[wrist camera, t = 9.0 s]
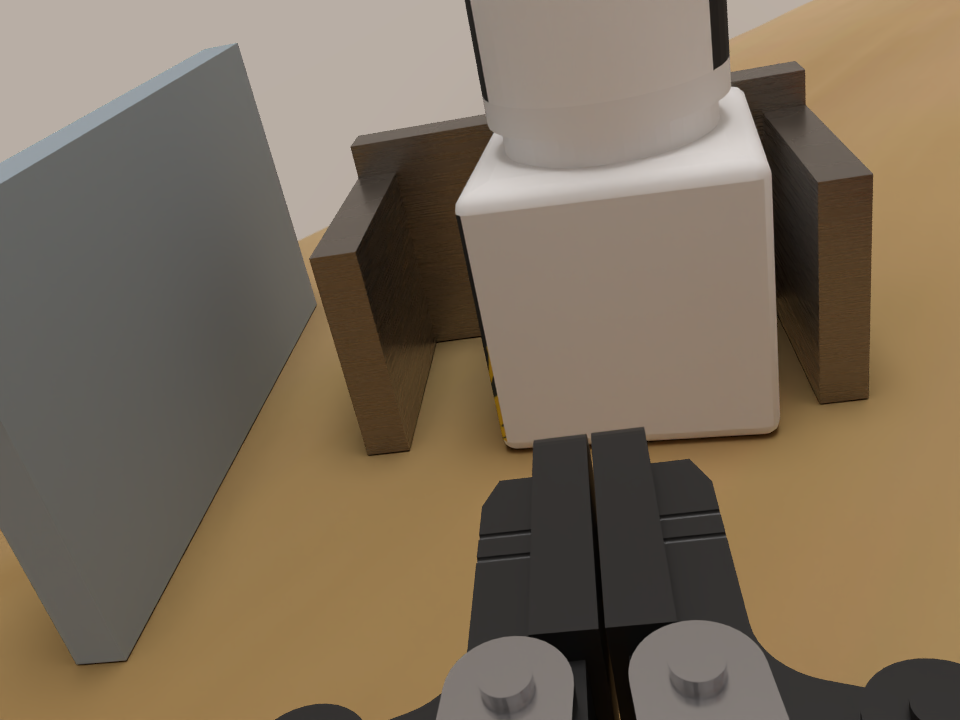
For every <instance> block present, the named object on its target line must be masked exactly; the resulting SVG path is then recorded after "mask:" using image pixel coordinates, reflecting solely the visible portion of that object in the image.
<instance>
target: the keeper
mask: <svg viewBox="0 0 960 720" xmlns="http://www.w3.org/2000/svg"><path fill="white" fill-rule="evenodd" d="M730 73H731V87H737V88H739V89H740V90H742V91H743V92H744V94H745V97H746V100H747V103H748V106H749V109H750V112H751V115H752V118H753V120H754V123H755V126H756V129H757V132H758V135H759V138H760V141H761V144H762V146H763V149H764V152H765V155H766V158H767V161H768V164H769V167H770V170H771V173H772V200H773V228H774V257H775V286H776V312H777V314H778V316H779V318H780V320H781V322H782V325H783V327H784V329H785V331H786V333H787V335H788V337H789V339H790V341H791V344H792V346H793V348H794V350H795V352H796V354H797V356H798V358H799V360H800V363H801V365H802V367H803V369H804V371H805V373H806V375H807V377H808V379H809V381H810V384H811V386H812V388H813V390H814V392H815V394H816V396H817V398H818V400H819V403H820V404H821V403H829V402H838V401H847V400H856V399H865V398H868V396H869V347H870V298H871V249H872V200H873V173H872V172H871V171H870V170H869V169H868V168H867V167H866V166H865V165H864V164H863V163H862V162H861V161H860V160H859V159H858V158H857V157H856V156H855V155H854V154H853V153H852V152H851V151H850V150H849V149H848V148H847V147H846V146H845V145H844V144H843V143H842V142H841V141H840V140H839V139H838V138H837V137H836V136H835V135H834V134H833V133H832V132H831V131H830V130H829V128H828V127H827V126H826V125H825V124H824V123H823V122H822V121H821V120H820V119H819V118H818V117H817V116H816V115H815V114H814V113H813V112H812V111H811V110H810V109H809V108H808V107H807V106H806V103H805V69H804V68H802V67H801V66H800V65H799V64H798V63H797V62H796V61H793V62H788V63H782V64H776V65H770V66H764V67H758V68H753V69H747V70H741V71H735V72H730ZM493 133H494V132H492V131H491V130H490V129H489V127H488V124H487V118H486V114H484V115H478V116H472V117H466V118H461V119H455V120H449V121H443V122H437V123H431V124H425V125H420V126H414V127H408V128H402V129H396V130H390V131H385V132H379V133H373V134H368V135H361V136H358V137H357V138H356V140H355V141H354V143H353V144H352V146H351V150H352V154H353V158H354V162H355V166H356V170H357V173H358V180H357V182H356V184H355V185H354V187H353V188H352V190H351V192H350V193H349V195H348V196H347V198H346V200H345V201H344V203H343V204H342V206H341V208H340V209H339V211H338V213H337V214H336V216H335V218H334V219H333V221H332V222H331V224H330V226H329V227H328V229H327V231H326V232H325V234H324V235H323V237H322V239H321V240H320V242H319V244H318V245H317V247H316V249H315V250H314V252H313V253H312V255H311V257H310V258H309V260H310V263H311V267H312V270H313V273H314V277H315V280H316V283H317V287H318V290H319V293H320V297H321V300H322V303H323V307H324V310H325V313H326V317H327V320H328V323H329V327H330V330H331V333H332V337H333V340H334V343H335V347H336V350H337V353H338V357H339V360H340V363H341V367H342V370H343V373H344V377H345V380H346V383H347V387H348V390H349V393H350V397H351V400H352V403H353V407H354V410H355V413H356V417H357V420H358V424H359V427H360V430H361V434H362V437H363V440H364V444H365V447H366V450H367V454H368V455H371V454H380V453H389V452H398V451H407V450H410V446H411V441H412V437H413V433H414V429H415V425H416V421H417V417H418V413H419V409H420V405H421V401H422V397H423V393H424V389H425V385H426V381H427V377H428V373H429V369H430V365H431V361H432V357H433V353H434V349H435V345H436V342H438V341H445V340H453V339H461V338H468V337H476V336H481V333H480V328H479V323H478V318H477V314H476V309H475V304H474V299H473V295H472V290H471V285H470V280H469V276H468V271H467V266H466V261H465V257H464V252H463V247H462V242H461V238H460V233H459V228H458V224H457V219H456V214H455V205H456V202H457V201H458V199H459V197H460V195H461V193H462V191H463V189H464V187H465V186H466V184H467V182H468V180H469V178H470V176H471V174H472V172H473V171H474V169H475V167H476V165H477V163H478V161H479V159H480V157H481V156H482V154H483V152H484V150H485V148H486V146H487V144H488V142H489V141H490V139H491V137H492V135H493Z"/></svg>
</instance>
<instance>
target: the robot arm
mask: <svg viewBox="0 0 960 720" xmlns="http://www.w3.org/2000/svg"><path fill="white" fill-rule="evenodd" d="M591 444H592V457H593V467H592V461H591V455H590V449H589V443H588V438H587V434H580V435H572V436H563V437H555V438H547V439H538V440H534V442H533V468H532V477H530V478H521V479H512V480H504V481H499V483H498V484H497V486H496V487H495V489H494V490H493V492H492V493H491V494H490V496H489V497H488V499H487V500H486V502H485V503H484V505H483V506H482V513H481V523H480V532H479V536H480V540H479V542H478V552H477V562H478V563H476V572H475V581H474V591H473V601H472V611H471V621H470V631H469V640H468V649H467V653H466V654H465V655H463V656H462V657H461V658H460V659H459V660H458V661H457V662H456V663H455V665H454V666H453V667H452V669H451V670H450V672H449V674H448V676H447V677H446V680H445V683H444V686H443V690H442V693H441V694H440V695H439V696H437V697H436V698H435V699H433V700H432V701H431V702H429V703H427V704H425V705H424V706H422V707H420V708H418V709H416V710H414V711H411V712H409V713H406V714H404V715H401V716H398V717H396V718H393V719H390V720H620V719H621V720H960V664H959V663H955V662H951V661H947V660H940V659H911V660H905V661H901V662H897V663H894V664H892V665H890V666H887V667H885V668H883V669H882V670H881V671H879V672H878V673H876V674H875V675H874V676H873V677H872V678H871V679H870V680H869V682H868V683H867V685H866V687H860V686H854V685H849V684H843V683H838V682H833V681H827V680H823V679H819V678H814V677H811V676H808V675H805V674H802V673H800V672H797V671H795V670H793V669H791V668H789V667H787V666H785V665H784V664H782V663H781V662H779V661H778V660H776V659H775V658H774V657H772V656H771V655H770V654H769V653H768V652H767V651H766V650H765V649H764V648H763V647H762V646H761V644H760V643H759V642H758V641H757V639H756V637H755V636H754V634H753V632H752V629H751V626H750V624H749V620H748V616H747V612H746V609H745V605H744V601H743V597H742V593H741V590H740V586H739V582H738V578H737V575H736V571H735V567H734V563H733V559H732V556H731V552H730V548H729V544H728V540H727V538H726V534H725V529H724V525H723V521H722V518H721V514H720V511H719V506H718V502H717V499H716V495H715V491H714V487H713V483H712V481H711V480H710V479H709V478H708V477H707V476H706V475H705V474H704V473H703V472H702V471H701V470H700V469H699V468H698V467H697V466H696V465H695V464H694V463H693V462H692V461H691V460H690V459H685V460H676V461H668V462H659V463H650V458H649V452H648V446H647V440H646V434H645V429H644V427H636V428H628V429H620V430H611V431H603V432H595V433H591ZM593 471H594V474H593ZM619 713H620V719H619ZM275 720H362V719H361V718H360V717H359V716H358V715H357V714H356V713H355V712H353V711H351V710H349V709H347V708H345V707H342V706H339V705H333V704H314V705H309V706H304V707H301V708H298V709H295V710H292V711H290V712H288V713H286V714H284V715H282V716H280V717H279V718H277V719H275Z"/></svg>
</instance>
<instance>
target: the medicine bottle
mask: <svg viewBox="0 0 960 720" xmlns="http://www.w3.org/2000/svg"><path fill="white" fill-rule="evenodd" d="M465 3H466V9H467V15H468V20H469V26H470V31H471V37H472V41H473V47H474V53H475V58H476V63H477V69H478V75H479V80H480V85H481V91H482V96H483V102H484V107H485V113H486V118H487V124H488V127H489V129H490V130H491V131H492V132H494V133H493V135H492V137H491V139H490V141H489V142H488V144H487V146H486V148H485V150H484V152H483V154H482V156H481V157H480V159H479V161H478V163H477V165H476V167H475V169H474V171H473V172H472V174H471V176H470V178H469V180H468V182H467V184H466V186H465V187H464V189H463V191H462V193H461V195H460V197H459V199H458V201H457V202H456V205H455V214H456V219H457V224H458V228H459V233H460V238H461V242H462V247H463V252H464V257H465V261H466V266H467V271H468V276H469V280H470V285H471V290H472V295H473V299H474V304H475V309H476V314H477V318H478V323H479V328H480V333H481V337H482V342H483V347H484V351H485V356H486V361H487V366H488V370H489V375H490V380H491V385H492V389H493V394H494V399H495V404H496V408H497V413H498V418H499V423H500V427H501V432H502V437H503V440H504V442H505V444H506V445H508V446H509V447H512V448H516V449H518V448H533V442H534V440H538V439H547V438H555V437H563V436H572V435H580V434H587V438H588V443H589V444H591V433H595V432H603V431H611V430H620V429H628V428H636V427H644V429H645V434H646V440H647V441H654V440H671V439H688V438H704V437H721V436H738V435H755V434H768V433H771V432H772V431H774V430H775V429H777V427H778V424H779V420H780V400H779V371H778V343H777V314H776V286H775V257H774V228H773V200H772V173H771V170H770V167H769V164H768V161H767V158H766V155H765V152H764V149H763V146H762V144H761V141H760V138H759V135H758V132H757V129H756V126H755V123H754V120H753V118H752V115H751V112H750V109H749V106H748V103H747V100H746V97H745V94H744V92H743V91H742V90H740V89H739V88H737V87H731V73H730V55H729V37H728V18H727V0H465Z"/></svg>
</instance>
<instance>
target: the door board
mask: <svg viewBox="0 0 960 720" xmlns="http://www.w3.org/2000/svg"><path fill="white" fill-rule="evenodd" d="M316 305H317V304H316V300H315V297H314V294H313V290H312V287H311V284H310V280H309V277H308V274H307V271H306V267H305V264H304V261H303V257H302V254H301V251H300V247H299V244H298V241H297V238H296V234H295V231H294V228H293V224H292V221H291V218H290V215H289V211H288V208H287V205H286V201H285V198H284V195H283V191H282V188H281V185H280V181H279V178H278V175H277V172H276V169H275V165H274V162H273V158H272V155H271V152H270V148H269V145H268V142H267V139H266V135H265V132H264V129H263V126H262V122H261V119H260V115H259V112H258V109H257V106H256V102H255V100H254V96H253V92H252V89H251V86H250V83H249V79H248V76H247V73H246V69H245V66H244V63H243V60H242V56H241V53H240V50H239V46H238V43H235V44H229V45H224V46H219V47H214V48H209V49H204V50H202V51H201V52H199V53H197V54H195V55H193V56H192V57H190V58H188V59H186V60H184V61H183V62H181V63H179V64H178V65H175V66H174V67H172V68H170V69H168V70H167V71H165V72H163V73H161V74H159V75H158V76H156V77H154V78H152V79H151V80H149V81H147V82H145V83H143V84H141V85H140V86H138V87H136V88H135V89H132V90H131V91H129V92H127V93H125V94H124V95H122V96H120V97H118V98H116V99H115V100H113V101H111V102H109V103H107V104H105V105H104V106H102V107H100V108H98V109H96V110H95V111H93V112H91V113H89V114H87V115H86V116H84V117H82V118H80V119H78V120H77V121H75V122H73V123H71V124H70V125H68V126H66V127H64V128H62V129H61V130H59V131H57V132H55V133H53V134H52V135H50V136H48V137H46V138H44V139H43V140H41V141H39V142H37V143H35V144H34V145H32V146H30V147H28V148H27V149H25V150H23V151H21V152H19V153H17V154H16V155H14V156H12V157H10V158H9V159H7V160H5V161H3V162H1V163H0V529H1V531H2V532H3V534H4V536H5V538H6V540H7V541H8V543H9V545H10V547H11V548H12V550H13V552H14V554H15V556H16V557H17V559H18V561H19V563H20V565H21V566H22V568H23V570H24V572H25V573H26V575H27V577H28V579H29V581H30V582H31V584H32V586H33V588H34V589H35V591H36V593H37V595H38V597H39V598H40V600H41V602H42V604H43V605H44V607H45V609H46V611H47V613H48V614H49V616H50V618H51V620H52V622H53V623H54V625H55V627H56V629H57V630H58V632H59V634H60V636H61V638H62V639H63V641H64V643H65V645H66V646H67V648H68V650H69V652H70V654H71V655H72V657H73V659H74V661H75V662H76V664H88V663H100V662H113V661H125V660H127V658H128V656H129V654H130V652H131V651H132V649H133V647H134V645H135V643H136V641H137V639H138V637H139V636H140V634H141V632H142V630H143V628H144V626H145V624H146V623H147V621H148V619H149V617H150V615H151V613H152V611H153V609H154V608H155V606H156V604H157V602H158V600H159V598H160V596H161V594H162V593H163V591H164V589H165V587H166V585H167V583H168V581H169V579H170V578H171V576H172V574H173V572H174V570H175V568H176V566H177V565H178V563H179V561H180V559H181V557H182V555H183V553H184V551H185V550H186V548H187V546H188V544H189V542H190V540H191V538H192V536H193V535H194V533H195V531H196V529H197V527H198V525H199V523H200V522H201V520H202V518H203V516H204V514H205V512H206V510H207V508H208V507H209V505H210V503H211V501H212V499H213V497H214V495H215V493H216V492H217V490H218V488H219V486H220V484H221V482H222V480H223V479H224V477H225V475H226V473H227V471H228V469H229V467H230V465H231V464H232V462H233V460H234V458H235V456H236V454H237V452H238V450H239V449H240V447H241V445H242V443H243V441H244V439H245V437H246V435H247V434H248V432H249V430H250V428H251V426H252V424H253V422H254V421H255V419H256V417H257V415H258V413H259V411H260V409H261V407H262V406H263V404H264V402H265V400H266V398H267V396H268V394H269V392H270V391H271V389H272V387H273V385H274V383H275V381H276V379H277V378H278V376H279V374H280V372H281V370H282V368H283V366H284V364H285V363H286V361H287V359H288V357H289V355H290V353H291V351H292V349H293V348H294V346H295V344H296V342H297V340H298V338H299V336H300V335H301V333H302V331H303V329H304V327H305V325H306V323H307V321H308V320H309V318H310V316H311V314H312V312H313V310H314V308H315V306H316Z"/></svg>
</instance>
